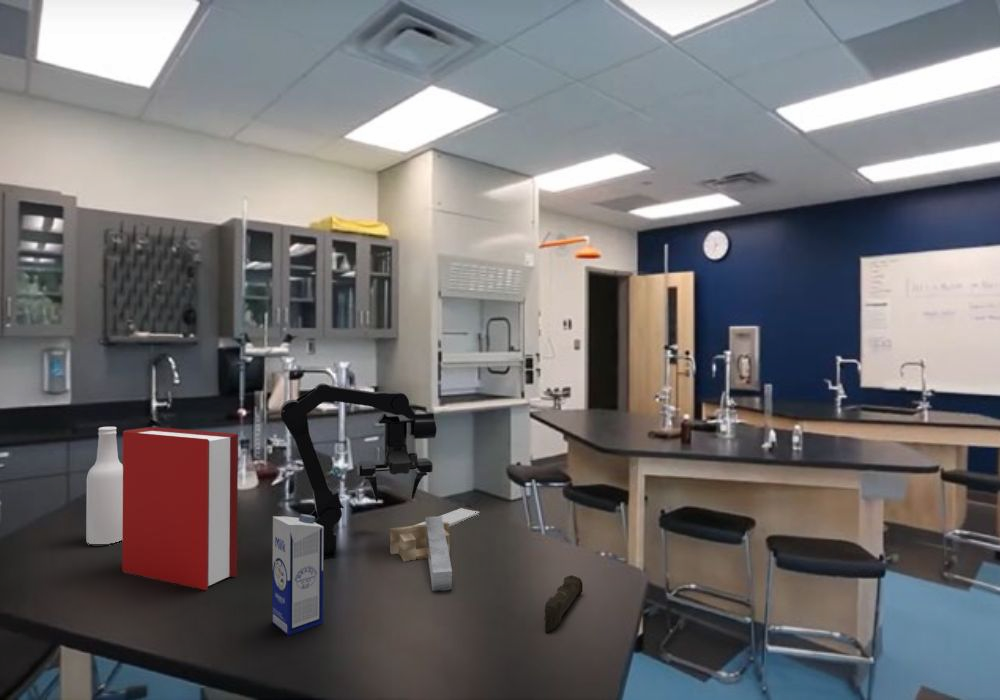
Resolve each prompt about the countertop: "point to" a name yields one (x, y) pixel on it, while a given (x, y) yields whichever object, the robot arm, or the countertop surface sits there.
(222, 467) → the book
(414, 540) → the beige studded block
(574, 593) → the dark brown lumpy bar
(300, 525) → the milk carton
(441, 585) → the rail
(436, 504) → the countertop surface
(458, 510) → the baseboard
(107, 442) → the alcohol
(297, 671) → the countertop surface
